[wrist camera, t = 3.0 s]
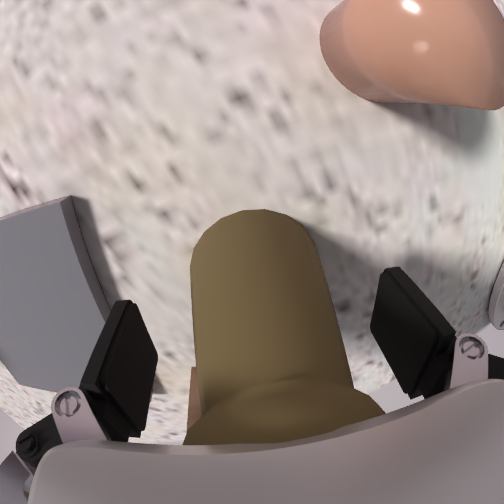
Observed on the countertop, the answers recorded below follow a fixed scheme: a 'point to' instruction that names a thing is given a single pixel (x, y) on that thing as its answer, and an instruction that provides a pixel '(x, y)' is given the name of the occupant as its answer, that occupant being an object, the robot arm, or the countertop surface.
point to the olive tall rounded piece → (267, 336)
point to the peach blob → (418, 51)
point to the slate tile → (48, 297)
